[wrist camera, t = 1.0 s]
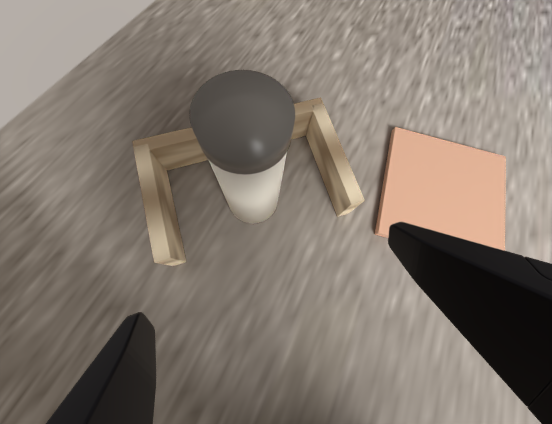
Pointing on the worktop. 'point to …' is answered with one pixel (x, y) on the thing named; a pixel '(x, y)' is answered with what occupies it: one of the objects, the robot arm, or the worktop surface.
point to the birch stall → (186, 150)
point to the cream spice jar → (245, 138)
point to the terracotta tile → (443, 189)
